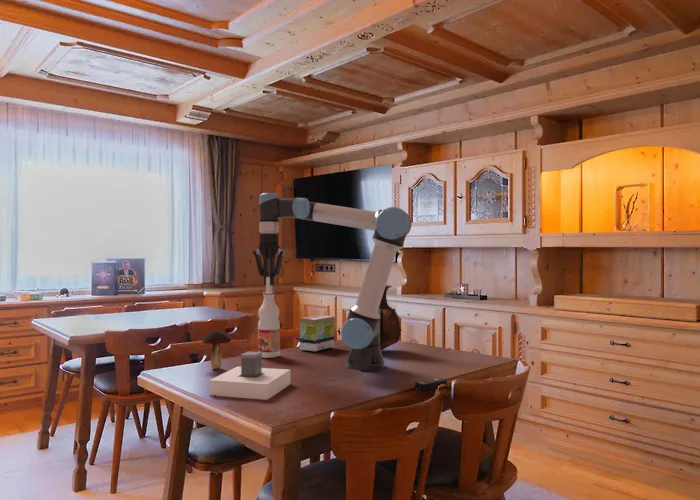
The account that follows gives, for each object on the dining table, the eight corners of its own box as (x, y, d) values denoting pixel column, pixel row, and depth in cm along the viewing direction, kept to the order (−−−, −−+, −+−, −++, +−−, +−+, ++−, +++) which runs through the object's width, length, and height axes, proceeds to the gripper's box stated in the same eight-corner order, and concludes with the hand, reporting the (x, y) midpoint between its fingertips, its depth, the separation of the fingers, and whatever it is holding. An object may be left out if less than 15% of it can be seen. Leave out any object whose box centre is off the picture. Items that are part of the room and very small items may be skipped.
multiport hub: (447, 386, 182) (447, 380, 182) (423, 391, 176) (423, 384, 176) (438, 384, 186) (438, 377, 186) (414, 388, 180) (414, 381, 180)
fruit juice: (281, 357, 229) (281, 292, 228) (259, 358, 226) (258, 293, 226) (278, 353, 238) (278, 290, 237) (257, 354, 235) (257, 291, 235)
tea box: (316, 352, 240) (316, 319, 240) (299, 349, 246) (299, 317, 246) (335, 346, 253) (335, 315, 253) (317, 344, 258) (317, 314, 258)
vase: (377, 344, 258) (377, 282, 258) (409, 348, 247) (409, 284, 247) (351, 351, 240) (351, 285, 240) (385, 356, 230) (385, 287, 230)
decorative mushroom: (205, 366, 212) (205, 328, 212) (233, 365, 213) (233, 328, 213) (199, 372, 202) (199, 333, 201) (228, 372, 202) (228, 332, 202)
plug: (261, 381, 179) (261, 352, 179) (255, 385, 174) (255, 355, 174) (247, 380, 181) (247, 351, 181) (240, 384, 176) (240, 354, 176)
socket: (290, 384, 185) (290, 369, 185) (267, 400, 165) (267, 384, 165) (237, 380, 190) (237, 366, 190) (209, 395, 170) (209, 380, 170)
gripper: (288, 233, 209) (288, 293, 209) (257, 233, 212) (257, 292, 212) (281, 232, 201) (281, 295, 202) (249, 233, 205) (249, 294, 205)
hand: (269, 293), depth 207 cm, fingers closed
